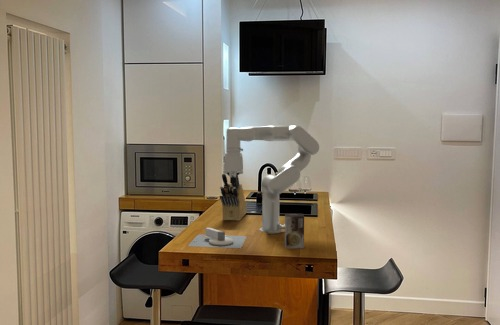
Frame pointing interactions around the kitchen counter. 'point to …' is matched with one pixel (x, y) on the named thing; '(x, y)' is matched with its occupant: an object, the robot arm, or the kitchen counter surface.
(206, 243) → the dial board
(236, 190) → the knife block
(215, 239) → the dial
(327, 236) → the kitchen counter surface
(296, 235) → the coffee box
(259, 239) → the kitchen counter surface
